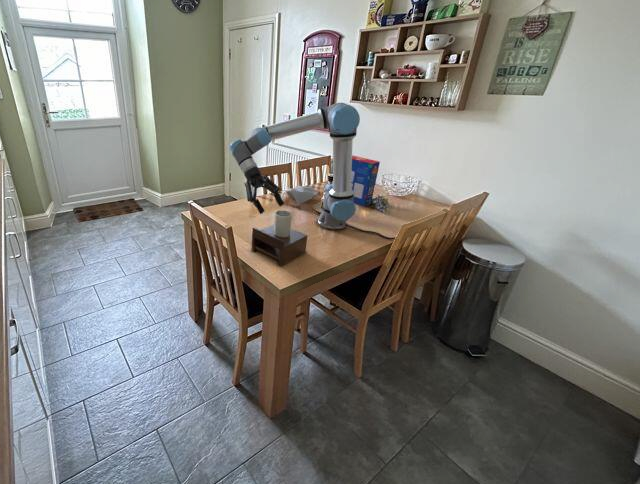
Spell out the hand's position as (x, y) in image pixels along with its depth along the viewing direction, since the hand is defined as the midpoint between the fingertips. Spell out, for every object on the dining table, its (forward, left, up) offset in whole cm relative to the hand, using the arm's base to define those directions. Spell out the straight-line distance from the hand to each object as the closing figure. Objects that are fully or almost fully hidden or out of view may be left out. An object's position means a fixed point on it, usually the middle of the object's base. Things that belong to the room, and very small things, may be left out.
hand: (272, 208), depth 151 cm
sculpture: (-7, -65, -19) cm, 69 cm away
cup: (-6, +3, -10) cm, 12 cm away
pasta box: (-38, -79, -19) cm, 90 cm away
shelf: (-5, +5, -19) cm, 20 cm away
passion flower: (-55, -65, -19) cm, 88 cm away
